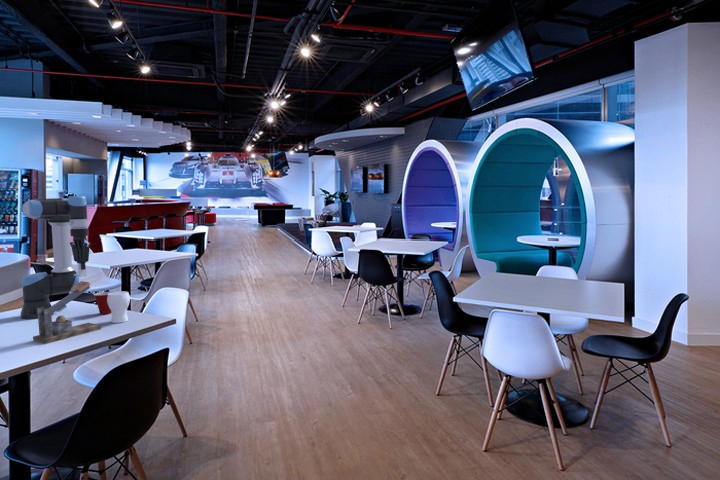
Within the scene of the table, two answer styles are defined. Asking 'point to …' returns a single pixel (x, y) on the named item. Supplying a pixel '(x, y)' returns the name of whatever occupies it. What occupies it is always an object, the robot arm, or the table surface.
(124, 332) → the table surface
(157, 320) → the table surface
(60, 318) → the walnut
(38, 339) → the press base
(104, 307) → the plastic cup
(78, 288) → the lever
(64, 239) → the robot arm
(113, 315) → the cup
